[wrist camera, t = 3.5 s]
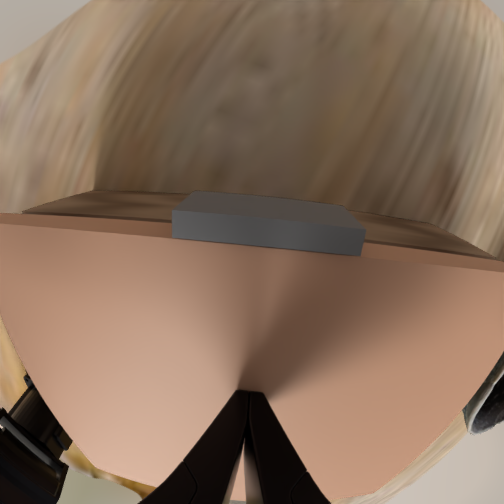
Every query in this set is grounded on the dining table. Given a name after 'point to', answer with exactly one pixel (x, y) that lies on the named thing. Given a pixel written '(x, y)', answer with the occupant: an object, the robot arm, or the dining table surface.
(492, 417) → the mug
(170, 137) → the dining table surface
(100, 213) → the crate
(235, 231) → the lid
